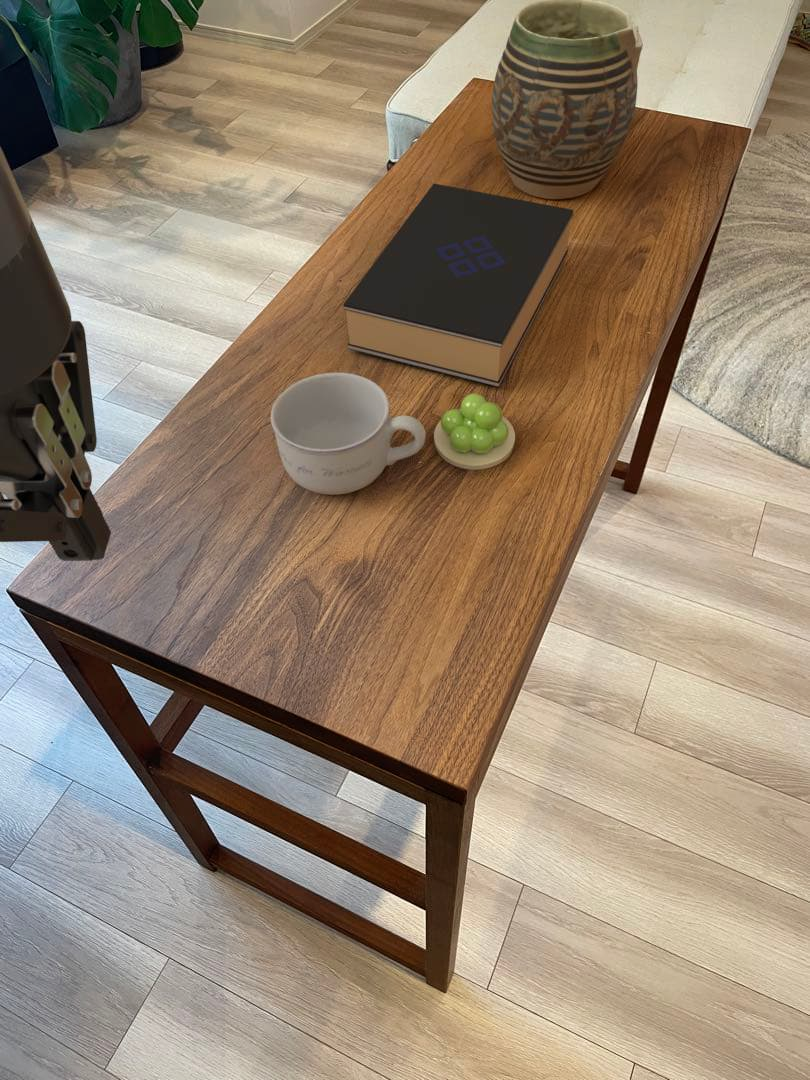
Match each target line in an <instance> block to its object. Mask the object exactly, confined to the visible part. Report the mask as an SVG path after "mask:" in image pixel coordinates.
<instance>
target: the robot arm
mask: <svg viewBox="0 0 810 1080" xmlns="http://www.w3.org/2000/svg"><path fill="white" fill-rule="evenodd" d="M65 295H66V294H65V292H64V291H63V289H62V286H61V284H60V281H59V279H58V276H57V275H56V272H55V270H54V268H53V265H52V263H51V261H50V258H49V256H48V253H47V251H46V249H45V245H43V242H42V240H41V236H40V234H39V233H38V230H37V228H36V225H35V223H34V221H33V218H32V215H31V214H30V211H29V209H28V206H27V205H26V202H25V200H24V197H23V195H22V193H21V191H20V188H19V186H18V183H17V181H16V179H15V176H14V174H13V172H12V170H11V168H10V165H9V163H8V161H7V158H6V155H5V153H4V151H3V149H2V147H1V146H0V543H18V542H19V543H20V542H23V543H25V542H26V543H27V542H48V543H49V544H50V546H51V548H52V550H53V551H54V553H55V554H56V556H57V557H58V559H59V560H61V561H63V562H93V561H99V560H102V559H104V558H105V554H106V551H107V548H108V544H109V541H110V538H111V534H112V531H111V529H110V527H109V524H108V523H107V521H106V519H105V517H104V515H103V511H102V509H101V507H100V505H99V503H98V502H97V500H96V498H95V496H94V494H93V492H92V490H91V486H92V482H93V476H92V475H93V474H92V470H91V467H90V465H89V462H88V460H87V458H86V456H85V455H86V453H93V452H95V450H96V448H97V441H98V439H97V430H96V422H95V420H96V419H95V412H94V403H93V393H92V384H91V374H90V366H89V365H90V364H89V356H88V348H87V338H86V330H85V327H84V325H83V323H82V322H81V321H80V320H72V313H71V307H70V305H69V302H68V299H67V297H66V296H65ZM4 496H5V497H6V498H5V497H4Z"/></svg>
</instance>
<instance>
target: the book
mask: <svg viewBox="0 0 810 1080" xmlns="http://www.w3.org/2000/svg"><path fill="white" fill-rule="evenodd" d="M574 212H575V211H574V209H571V208H565V207H561V206H555V205H550V204H545V203H540V202H534V201H529V200H524V199H519V198H513V197H508V196H503V195H498V194H492V193H488V192H487V193H486V192H482V191H477V190H471V189H465V188H460V187H455V186H451V185H444V184H439V183H435V182H434V183H432V185H431V186H430V188H429V189H428V190H427V191H426V193H425V194H424V195H423V197H422V198H421V199H420V201H419V202H418V204H416V206H415V208H414V209H413V210H412V211H411V212H410V214H409V215H408V217H407V218H406V220H404V222H403V224H402V225H401V226H400V227H399V229H397V231H396V233H395V234H394V236H393V237H392V238H391V240H390V241H389V242H388V244H387V245H386V246H385V248H384V249H383V250H382V252H381V253H380V254H379V256H378V257H377V258H376V260H375V261H374V262H373V264H372V265H371V267H370V268H369V269H368V271H366V273H365V274H364V276H363V277H362V278H361V280H360V281H359V283H358V284H357V285H356V286H355V288H354V289H353V290H352V292H351V293H350V294H349V296H348V297H347V298H346V300H345V301H344V303H343V304H342V307H343V310H344V311H345V319H346V329H347V338H348V343H347V349H348V350H352V351H356V352H359V353H363V354H368V355H372V356H374V357H379V358H383V359H387V360H391V361H395V362H398V363H403V364H406V365H409V366H410V365H411V366H415V367H417V368H418V367H419V368H423V369H426V370H430V371H434V372H438V373H441V374H446V375H449V376H453V377H457V378H462V379H465V380H469V381H473V382H477V383H481V384H484V385H488V386H493V387H496V388H500V386H501V384H502V382H503V380H504V378H505V376H506V374H507V373H508V370H509V369H510V367H511V365H512V363H513V361H514V359H515V358H516V355H517V354H518V351H519V349H520V347H521V346H522V344H523V342H524V340H525V338H526V336H527V334H528V332H529V330H530V329H531V326H532V324H533V322H534V321H535V319H536V317H537V315H538V313H539V311H540V309H541V308H542V306H543V304H544V302H545V300H546V297H547V296H548V294H549V292H550V290H551V288H552V286H553V285H554V282H555V281H556V278H557V276H558V275H559V273H560V271H561V269H562V267H563V266H564V263H565V261H566V259H567V257H568V255H569V250H568V244H569V235H570V228H571V221H572V218H573V216H574Z"/></svg>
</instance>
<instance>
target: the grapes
mask: <svg viewBox="0 0 810 1080" xmlns="http://www.w3.org/2000/svg"><path fill="white" fill-rule="evenodd" d="M433 443H434V449H435V451H436V452H437V453H438V455H439V456H440V458H442V460H444V461H445V462H446V463H448V464H450V465H452V466H454V467H457V468H459V469H464V470H470V471H479V470H480V471H481V470H487V469H490V468H493V467H496V466H498V465H500V464H501V463H503V462H504V461H506V460H507V459H508V458H509V457H510V456H511V454H512V452H514V451H513V450H514V448H515V443H516V431H515V429H514V427H513V424H512V423H511V422H510V421H509V420H508V419H507V417H505V416H504V413H503V410H502V407H501V405H499V404H498V403H496V402H494V401H488V400H487V399H486V398H485V397H484V396H483V395H482V394H480V393H477V392H474V393H473V392H472V393H469V394H467V395H465V396H464V397H463V399H462V400H461V403H460V408H451V409H448V410H447V411H445V412H444V413H443V414H442V415H441V418H440V420H439V421H438V422H437V424H436V426H435V428H434V432H433Z"/></svg>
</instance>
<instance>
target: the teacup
mask: <svg viewBox="0 0 810 1080" xmlns="http://www.w3.org/2000/svg"><path fill="white" fill-rule="evenodd" d="M390 410H391V409H390V402H389V398H388V395H387V394H386V393H385V391H384V390H383V388H382V387H381V386H380V385H378V384H377V383H375V382H374V381H373V380H371V379H369V378H366V377H365V376H361V375H359V374H355V373H350V372H325V373H320V374H315V375H311V376H307V377H304V378H303V379H300V380H298V381H296V382H295V383H292V384H291V385H290V386H288V387H287V388H286V389H285V390H284V391H283V392H282V393H280V394H279V396H278V397H276V399H275V401H274V402H273V404H272V407H271V411H270V416H269V417H270V423H271V427H272V429H273V431H274V435H275V441H276V444H277V449H278V452H279V456H280V459H281V463H282V465H283V467H284V469H285V471H286V473H287V474H288V475H289V477H290V478H291V479H292V480H293V482H294V483H296V484H297V485H298V486H300V487H302V488H303V489H306V490H307V491H310V492H313V493H316V494H321V495H328V496H329V495H330V496H331V495H332V496H335V495H337V496H338V495H345V494H351V493H354V492H356V491H359V490H361V489H364V488H365V487H367V486H369V485H370V484H372V483H373V482H374V481H375V480H376V479H377V478H378V477H380V475H381V474H382V473H383V471H384V470H385V467H386V466H392V465H393V464H395V463H396V462H397V461H399V460H403V459H406V458H408V457H409V458H410V457H411V456H413V455H415V454H417V453H418V452H419V451H421V449H422V448H423V447H424V445H425V441H426V435H427V434H426V430H425V427H424V425H423V424H422V422H420V420H419V419H417V418H415V417H413V416H409V415H405V414H404V415H397V416H394V417H392V418H390ZM399 430H400V431H407V432H409V433H411V434H412V435H413V437H414V439H412V441H410V442H409V443H406V444H404V445H400V446H394V447H391V440H392V438H393V436H394V433H395V432H396V431H399Z"/></svg>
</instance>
